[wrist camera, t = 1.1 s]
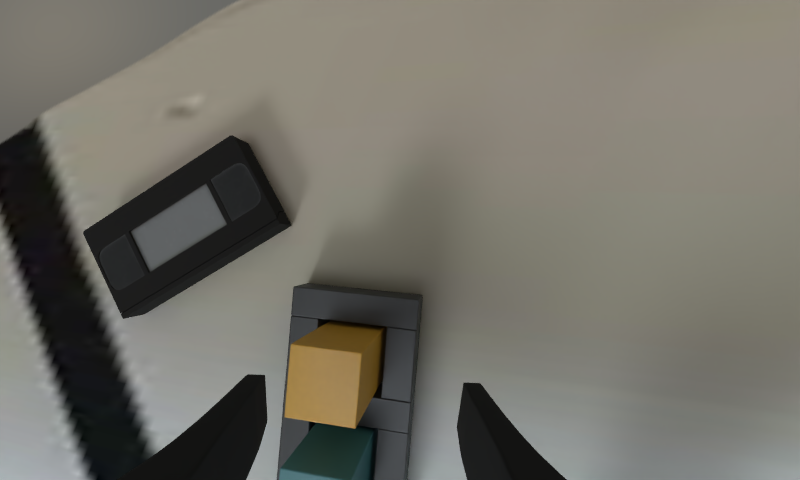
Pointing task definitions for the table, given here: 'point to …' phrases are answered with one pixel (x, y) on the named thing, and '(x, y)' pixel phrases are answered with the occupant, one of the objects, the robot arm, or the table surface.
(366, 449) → the teal peg
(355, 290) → the holder
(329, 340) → the ochre peg
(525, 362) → the table surface
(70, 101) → the table surface
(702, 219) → the table surface
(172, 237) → the vhs tape
